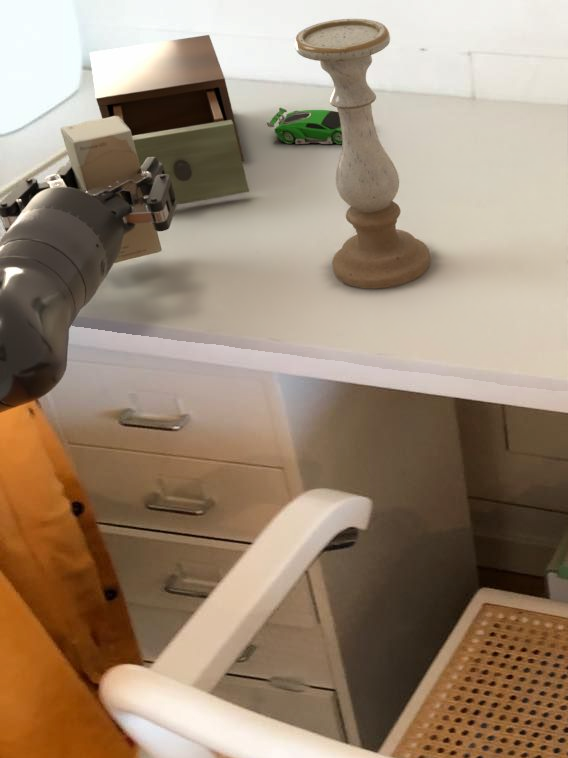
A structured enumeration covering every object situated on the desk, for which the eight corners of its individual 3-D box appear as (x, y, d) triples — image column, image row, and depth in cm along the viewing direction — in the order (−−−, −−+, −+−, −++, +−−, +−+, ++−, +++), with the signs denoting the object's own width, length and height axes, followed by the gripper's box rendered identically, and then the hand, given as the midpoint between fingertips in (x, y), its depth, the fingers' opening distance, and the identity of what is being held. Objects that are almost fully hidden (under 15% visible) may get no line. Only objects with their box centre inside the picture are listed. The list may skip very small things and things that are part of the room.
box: (107, 266, 115) (68, 142, 107) (94, 248, 118) (55, 126, 110) (166, 250, 117) (131, 128, 109) (151, 233, 120) (117, 112, 112)
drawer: (251, 196, 128) (234, 128, 123) (132, 217, 125) (111, 148, 121) (232, 142, 138) (217, 77, 134) (123, 161, 136) (103, 95, 131)
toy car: (371, 128, 142) (367, 107, 141) (359, 145, 139) (355, 124, 137) (284, 127, 143) (279, 106, 142) (270, 144, 140) (265, 123, 138)
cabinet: (244, 161, 137) (224, 78, 131) (121, 182, 134) (96, 98, 128) (228, 113, 147) (209, 34, 141) (113, 132, 144) (89, 52, 139)
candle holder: (348, 298, 113) (300, 59, 100) (323, 257, 119) (275, 27, 106) (443, 275, 116) (409, 39, 102) (414, 236, 122) (378, 8, 108)
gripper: (134, 206, 100) (187, 123, 112) (-52, 212, 100) (21, 129, 112) (160, 295, 105) (208, 206, 117) (-17, 301, 105) (49, 211, 117)
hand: (116, 169), depth 115 cm, fingers closed on box, 6 cm apart
